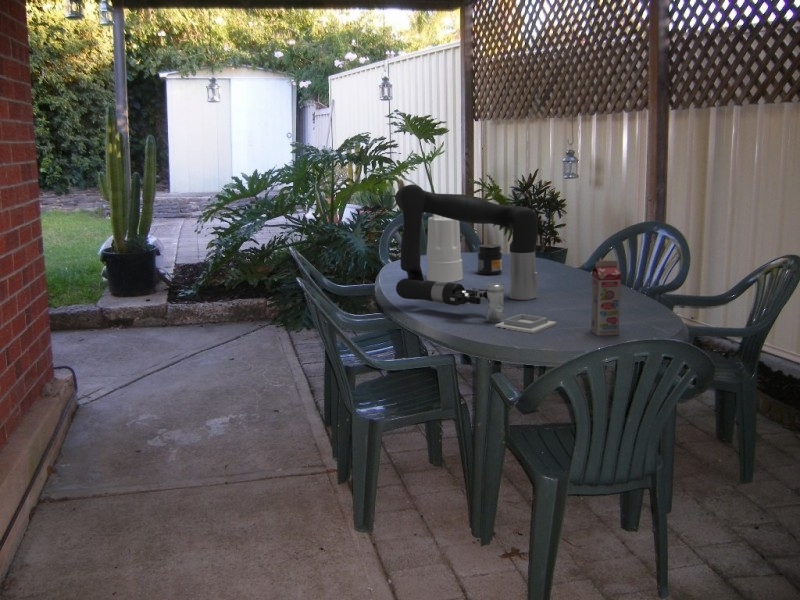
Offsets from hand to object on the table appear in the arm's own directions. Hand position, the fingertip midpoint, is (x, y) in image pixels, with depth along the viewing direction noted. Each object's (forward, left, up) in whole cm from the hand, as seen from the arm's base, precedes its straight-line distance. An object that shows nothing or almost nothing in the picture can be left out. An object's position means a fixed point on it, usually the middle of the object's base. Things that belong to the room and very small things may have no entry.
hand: (487, 298), depth 270 cm
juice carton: (-26, +29, -7) cm, 40 cm away
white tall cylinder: (-14, -75, -7) cm, 76 cm away
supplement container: (-36, -78, -7) cm, 86 cm away
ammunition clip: (-60, -25, -7) cm, 66 cm away
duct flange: (-8, +12, -7) cm, 16 cm away
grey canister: (-2, +2, -7) cm, 8 cm away
